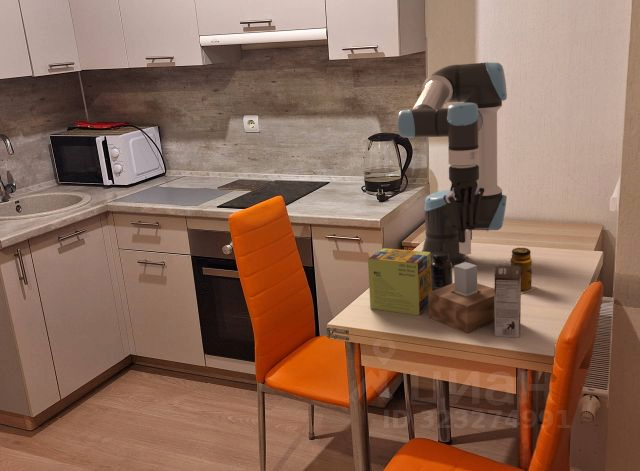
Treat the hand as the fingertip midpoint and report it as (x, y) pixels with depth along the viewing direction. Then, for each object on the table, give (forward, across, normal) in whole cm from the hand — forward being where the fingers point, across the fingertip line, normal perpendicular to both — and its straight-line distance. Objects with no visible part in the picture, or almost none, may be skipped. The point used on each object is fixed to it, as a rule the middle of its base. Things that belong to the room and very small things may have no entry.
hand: (465, 253), depth 177 cm
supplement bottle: (+19, +10, +19) cm, 28 cm away
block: (+19, 0, 0) cm, 19 cm away
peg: (+18, 0, 0) cm, 18 cm away
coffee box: (+19, +2, -12) cm, 23 cm away
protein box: (+19, -6, +19) cm, 28 cm away
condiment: (+19, +27, +4) cm, 33 cm away
